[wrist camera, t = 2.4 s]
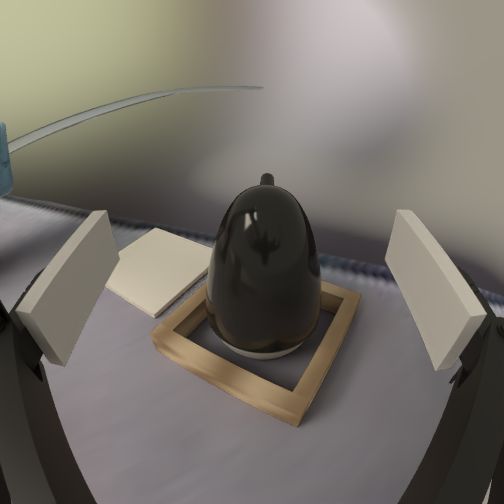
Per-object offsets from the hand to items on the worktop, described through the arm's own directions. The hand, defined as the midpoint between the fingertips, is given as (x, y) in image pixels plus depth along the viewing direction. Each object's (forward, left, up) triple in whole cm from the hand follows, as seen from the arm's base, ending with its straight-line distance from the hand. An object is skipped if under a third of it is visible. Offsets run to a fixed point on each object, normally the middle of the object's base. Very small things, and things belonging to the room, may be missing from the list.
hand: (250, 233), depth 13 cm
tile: (-20, +10, -17) cm, 28 cm away
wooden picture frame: (-3, +8, -17) cm, 18 cm away
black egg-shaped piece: (-3, +8, -17) cm, 19 cm away
